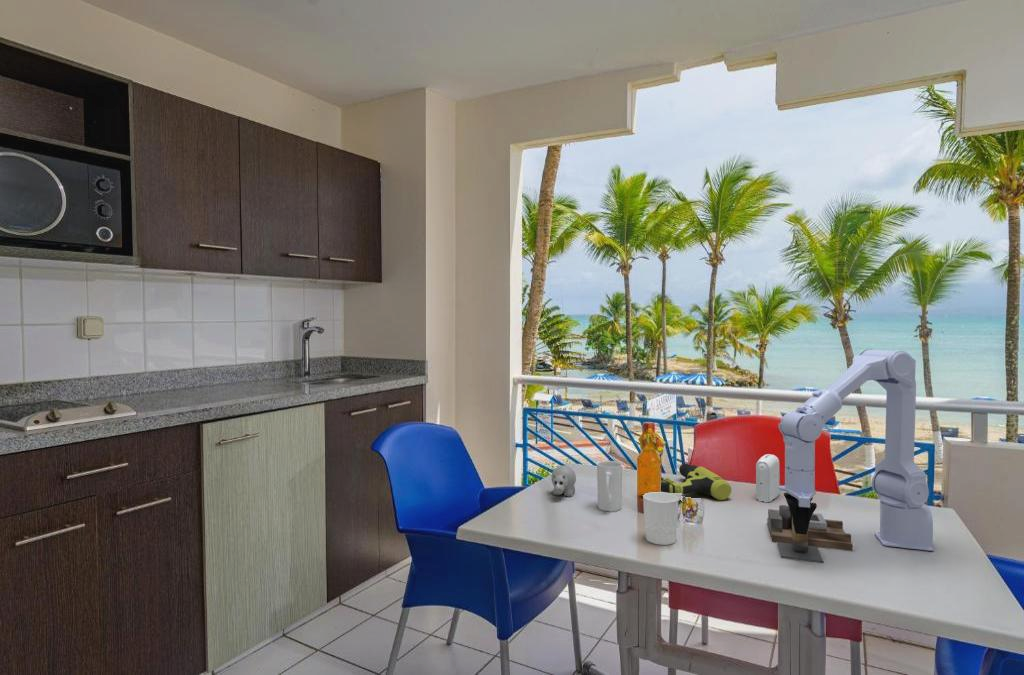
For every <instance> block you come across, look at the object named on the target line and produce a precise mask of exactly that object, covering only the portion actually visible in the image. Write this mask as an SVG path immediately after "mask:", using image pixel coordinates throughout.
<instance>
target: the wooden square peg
mask: <svg viewBox="0 0 1024 675" xmlns="http://www.w3.org/2000/svg"><path fill="white" fill-rule="evenodd" d="M792 542H793V549H794V550H797V551H802V552H804V551H808V531H807V534H806V535H804V534H796V533H795V530H794V525H793V518H792Z"/></svg>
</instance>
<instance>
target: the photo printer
mask: <svg viewBox="0 0 1024 675" xmlns="http://www.w3.org/2000/svg"><path fill="white" fill-rule="evenodd" d="M779 486H780V460H779V458H778V457H777V456H776V455H774V454H770V453H768V454H764V455H763V456H761V457H760V458H759V459H758V460H757V462H756V465H755V499H756V500H757V499H758V500H760V501H766V502H768V503H770V502H773V501H774V500H775V499H776V498H777V497H779V495H780V490H779ZM773 499H774V500H773ZM758 500H757V501H758ZM760 501H759V502H760Z"/></svg>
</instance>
